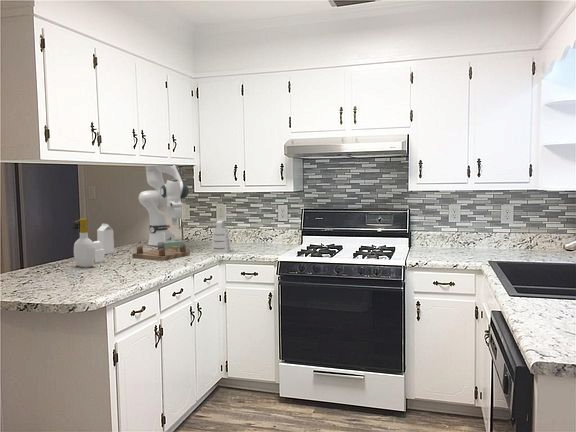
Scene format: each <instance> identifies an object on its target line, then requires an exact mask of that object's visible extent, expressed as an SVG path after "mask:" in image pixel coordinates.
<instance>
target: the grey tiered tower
mask: <svg viewBox="0 0 576 432" xmlns="http://www.w3.org/2000/svg"><path fill="white" fill-rule="evenodd" d="M225 222H226V221H225V220H217V221H216V223H215V225H216V227H213V230H212V232H213V233H212V241H211V248H210V249H211V250H210V253H213V254H218V253H219V254H222V253H223V254H228V253H229V252H230V251H231V249H232V248H231V242H230V241H231V240H230V235H229V228H228V226H226V224H225Z"/></svg>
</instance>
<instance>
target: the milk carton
mask: <svg viewBox="0 0 576 432" xmlns="http://www.w3.org/2000/svg"><path fill="white" fill-rule="evenodd" d="M96 233H97V234H96V235H97V236H96V237H97V239H96V240H97V241H100V242H101V248H100V249H104V253H105V255H110V254H114V253H115V240H114V239H115V238H114V235H115V234H114V229H113V228H112V227H111V226H110V225H109V224H108V223H101V226H99V228H97V229H96Z"/></svg>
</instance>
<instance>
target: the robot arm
mask: <svg viewBox="0 0 576 432" xmlns="http://www.w3.org/2000/svg"><path fill="white" fill-rule="evenodd" d="M163 173H165V174H167V175H170V176H171V177H173V178H168V179H167V180H166V183H165V181H164V177H163ZM145 174H146V175H145V176H146V182H147V184H148V185H149V186H150V187H152V188H153V190H151V189H150V190H144V191H141V192H140V193H139V195H138V201H139V203H140V205H142V207H144V208H145V209H146V210H147V212H148V216H149V227H148V228H149V238H148V242H147V243H148V244H147V245H149V246H157V247H158V242H173V241H176V237H175V234H174V233H173V232H171V230H169V229H170V228H171V225H170V224H167V220H166V219H167V217H168V218H170V219H171V222H172V225H174V226H176V225H177V222H178V219H182V216H183V215H182V213H183V211H182V210H183V202H182V200H183V199H186V198H187V197H188V196H189V193H190V191H189V187H188V186H187V183H186V182H185V180H184V178H183V176H182V173H181V172H180V169H179V167H178V166H177V165H176V164H174V165H173V166H146V165H145ZM154 189H155V190H154ZM159 206H160V207H161V206H166V207H167V211H166V212H167V217H166V213H165V212H164V211H162V210H160V209H159V208H158V207H159Z"/></svg>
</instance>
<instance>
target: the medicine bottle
mask: <svg viewBox="0 0 576 432" xmlns="http://www.w3.org/2000/svg"><path fill="white" fill-rule="evenodd" d="M91 241H92V242H93V243H94V246H95V259H94V263H93V264H98V263H103V262H106V260H105V259H106V258H105V256H106V254H105V253H104V249H100V248H101V242H100V241H98V240H91Z"/></svg>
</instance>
